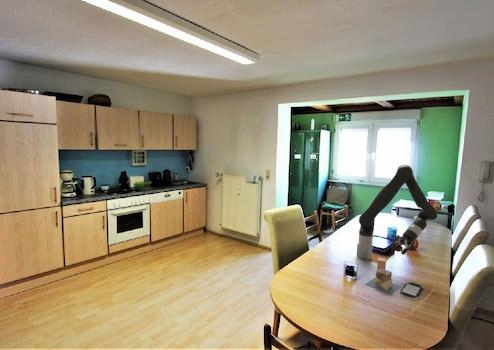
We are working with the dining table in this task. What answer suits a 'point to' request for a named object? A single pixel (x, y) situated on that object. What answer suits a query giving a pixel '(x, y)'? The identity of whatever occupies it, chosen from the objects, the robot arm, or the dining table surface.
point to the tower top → (383, 274)
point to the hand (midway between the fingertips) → (396, 251)
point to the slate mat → (388, 291)
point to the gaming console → (411, 291)
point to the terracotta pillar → (381, 263)
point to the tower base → (383, 283)
